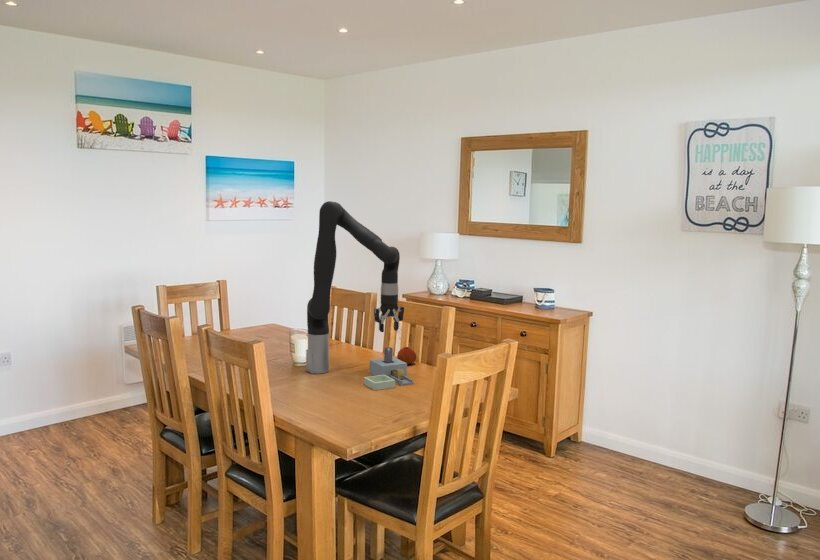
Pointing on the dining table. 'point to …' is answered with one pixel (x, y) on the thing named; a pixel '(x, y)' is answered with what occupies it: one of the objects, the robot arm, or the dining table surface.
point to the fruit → (406, 355)
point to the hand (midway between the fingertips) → (388, 331)
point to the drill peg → (388, 354)
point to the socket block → (385, 369)
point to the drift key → (398, 373)
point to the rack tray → (379, 382)
